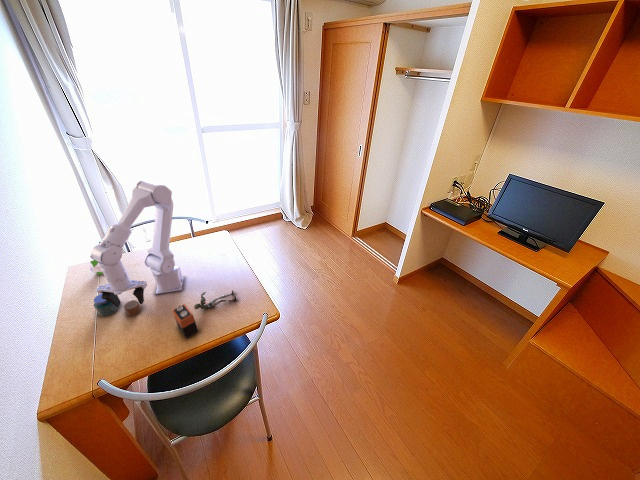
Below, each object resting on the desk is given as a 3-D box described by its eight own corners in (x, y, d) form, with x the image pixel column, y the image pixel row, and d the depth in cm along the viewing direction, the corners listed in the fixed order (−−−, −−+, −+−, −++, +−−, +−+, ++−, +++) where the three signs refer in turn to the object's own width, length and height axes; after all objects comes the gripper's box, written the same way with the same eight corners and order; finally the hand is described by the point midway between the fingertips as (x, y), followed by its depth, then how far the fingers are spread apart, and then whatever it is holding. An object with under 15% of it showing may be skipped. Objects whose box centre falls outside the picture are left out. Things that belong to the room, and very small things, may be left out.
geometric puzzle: (87, 266, 115) (84, 259, 109) (106, 259, 119) (104, 252, 113) (96, 279, 114) (93, 273, 108) (114, 272, 118) (112, 266, 112)
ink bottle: (121, 301, 102) (115, 290, 99) (115, 314, 97) (109, 302, 94) (101, 304, 101) (94, 293, 97) (95, 317, 95) (87, 305, 92)
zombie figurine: (234, 289, 101) (193, 304, 95) (237, 301, 105) (197, 316, 99) (230, 280, 105) (190, 294, 98) (232, 292, 109) (194, 306, 102)
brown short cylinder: (142, 304, 101) (139, 299, 100) (139, 314, 98) (136, 308, 96) (128, 307, 100) (125, 301, 98) (125, 316, 97) (122, 310, 95)
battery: (186, 339, 90) (179, 320, 85) (178, 327, 94) (170, 308, 88) (198, 331, 93) (192, 312, 87) (190, 320, 97) (183, 301, 91)
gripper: (86, 286, 84) (103, 315, 92) (137, 281, 88) (149, 308, 95) (95, 272, 90) (111, 300, 98) (143, 267, 93) (154, 294, 101)
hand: (130, 303), depth 97 cm, fingers open, 7 cm apart
